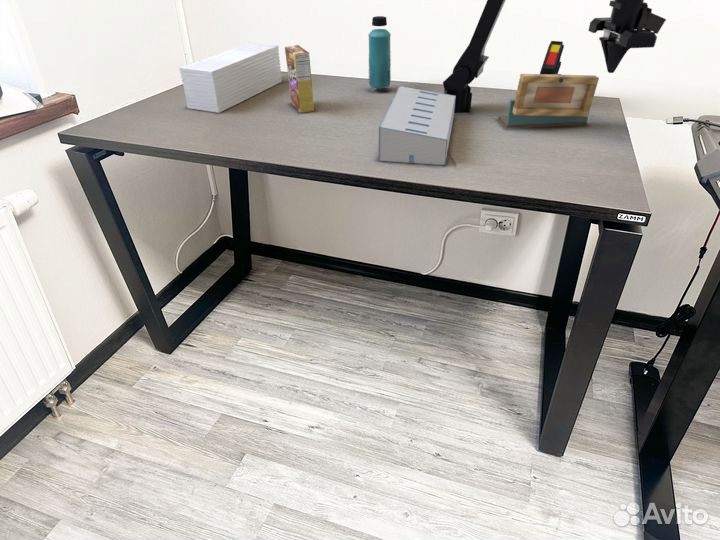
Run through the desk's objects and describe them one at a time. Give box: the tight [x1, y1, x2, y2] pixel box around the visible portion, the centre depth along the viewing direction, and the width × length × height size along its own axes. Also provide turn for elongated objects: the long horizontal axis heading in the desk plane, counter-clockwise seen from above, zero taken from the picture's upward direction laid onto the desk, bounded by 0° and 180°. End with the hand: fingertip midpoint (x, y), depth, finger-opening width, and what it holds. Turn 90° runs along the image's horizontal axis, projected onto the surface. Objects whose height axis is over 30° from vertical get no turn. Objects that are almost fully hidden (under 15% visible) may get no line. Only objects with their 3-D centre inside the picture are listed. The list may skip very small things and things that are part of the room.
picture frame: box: [512, 73, 600, 118], centre depth 122 cm, size 18×2×9 cm, turn 95°
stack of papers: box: [179, 42, 283, 114], centre depth 151 cm, size 32×11×11 cm, turn 155°
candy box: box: [284, 44, 315, 114], centre depth 139 cm, size 9×4×15 cm, turn 23°
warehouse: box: [378, 85, 456, 166], centre depth 121 cm, size 30×14×8 cm, turn 168°
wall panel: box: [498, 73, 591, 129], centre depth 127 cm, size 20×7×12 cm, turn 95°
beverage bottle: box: [367, 15, 392, 89], centre depth 149 cm, size 6×7×20 cm
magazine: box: [539, 40, 565, 74], centre depth 141 cm, size 4×13×15 cm, turn 155°
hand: (610, 72), depth 120 cm, fingers closed
